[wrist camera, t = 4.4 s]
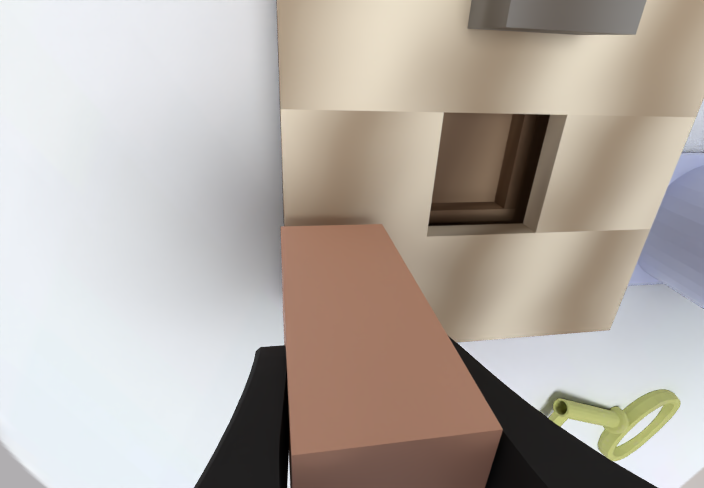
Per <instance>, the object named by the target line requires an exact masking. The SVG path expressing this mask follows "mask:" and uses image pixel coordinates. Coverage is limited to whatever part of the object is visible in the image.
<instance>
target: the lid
mask: <svg viewBox="0 0 704 488" xmlns="http://www.w3.org/2000/svg"><path fill="white" fill-rule="evenodd" d="M277 16H278V47H279V77H280V107H281V137H282V167H283V198H284V226H322V225H363V224H382V225H383V226H384V228H385V230H386V231H387V233H388V235H389V237H390V238H391V240H392V242H393V243H394V245H395V247H396V248H397V250H398V252H399V254H400V255H401V257H402V259H403V260H404V262H405V264H406V265H407V267H408V269H409V271H410V272H411V274H412V276H413V277H414V279H415V281H416V282H417V284H418V286H419V288H420V289H421V291H422V293H423V294H424V296H425V298H426V299H427V301H428V303H429V305H430V306H431V308H432V310H433V311H434V313H435V315H436V316H437V318H438V320H439V322H440V323H441V325H442V327H443V328H444V330H445V332H446V333H447V335H448V336H449V337H451V338H452V339H453V340H454V341H455V342H468V341H481V340H493V339H505V338H518V337H530V336H543V335H555V334H567V333H580V332H592V331H605V330H610V328H611V325H612V323H613V320H614V318H615V316H616V313H617V311H618V308H619V306H620V303H621V301H622V298H623V296H624V293H625V291H626V288H627V286H628V284H629V281H630V279H631V276H632V274H633V271H634V269H635V266H636V264H637V261H638V259H639V256H640V254H641V252H642V249H643V247H644V244H645V242H646V239H647V237H648V234H649V232H650V229H651V227H652V224H653V222H654V219H655V217H656V215H657V212H658V210H659V207H660V205H661V202H662V200H663V197H664V195H665V192H666V190H667V187H668V185H669V183H670V180H671V178H672V175H673V173H674V170H675V168H676V165H677V163H678V160H679V158H680V155H681V153H682V151H683V148H684V146H685V143H686V141H687V138H688V136H689V133H690V131H691V128H692V126H693V123H694V121H695V118H696V116H697V114H698V111H699V109H700V106H701V104H702V101H703V99H704V0H277ZM444 112H449V113H501V114H550V118H549V122H548V126H547V130H546V134H545V138H544V142H543V146H542V150H541V154H540V158H539V162H538V166H537V170H536V174H535V178H534V181H533V185H532V189H531V193H530V197H529V201H528V205H527V209H526V213H525V217H524V221H523V223H520V224H486V225H452V226H428V223H429V216H430V209H431V202H432V195H433V187H434V180H435V173H436V166H437V158H438V151H439V144H440V137H441V130H442V122H443V115H444Z"/></svg>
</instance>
